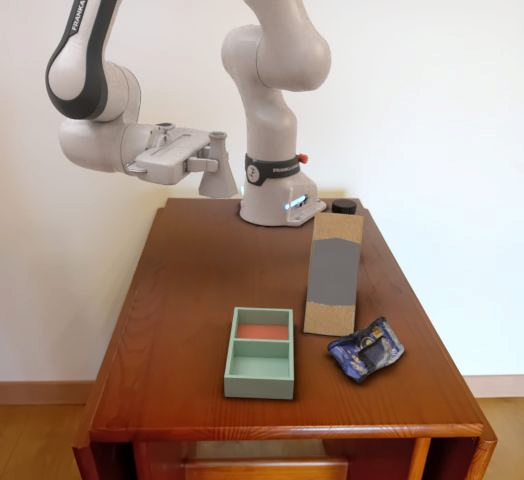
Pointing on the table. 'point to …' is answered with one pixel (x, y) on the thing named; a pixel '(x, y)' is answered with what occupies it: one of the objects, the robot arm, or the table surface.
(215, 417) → the table surface
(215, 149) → the flask
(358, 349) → the snack package
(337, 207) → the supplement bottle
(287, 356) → the two-compartment tray
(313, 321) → the sandwich container
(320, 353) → the table surface
